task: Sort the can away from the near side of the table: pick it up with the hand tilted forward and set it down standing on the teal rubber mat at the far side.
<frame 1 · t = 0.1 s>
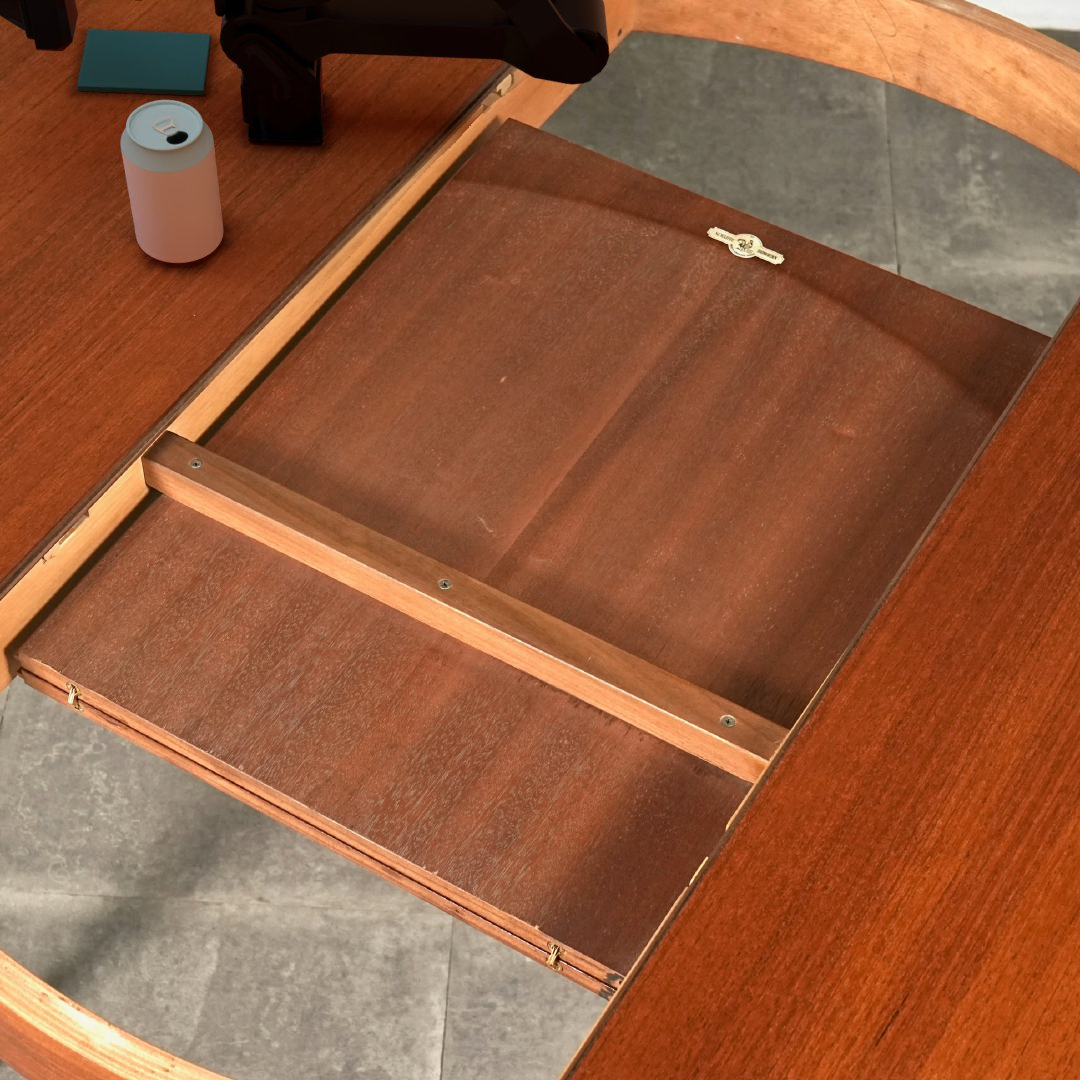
can: (180, 240, 131), on the table
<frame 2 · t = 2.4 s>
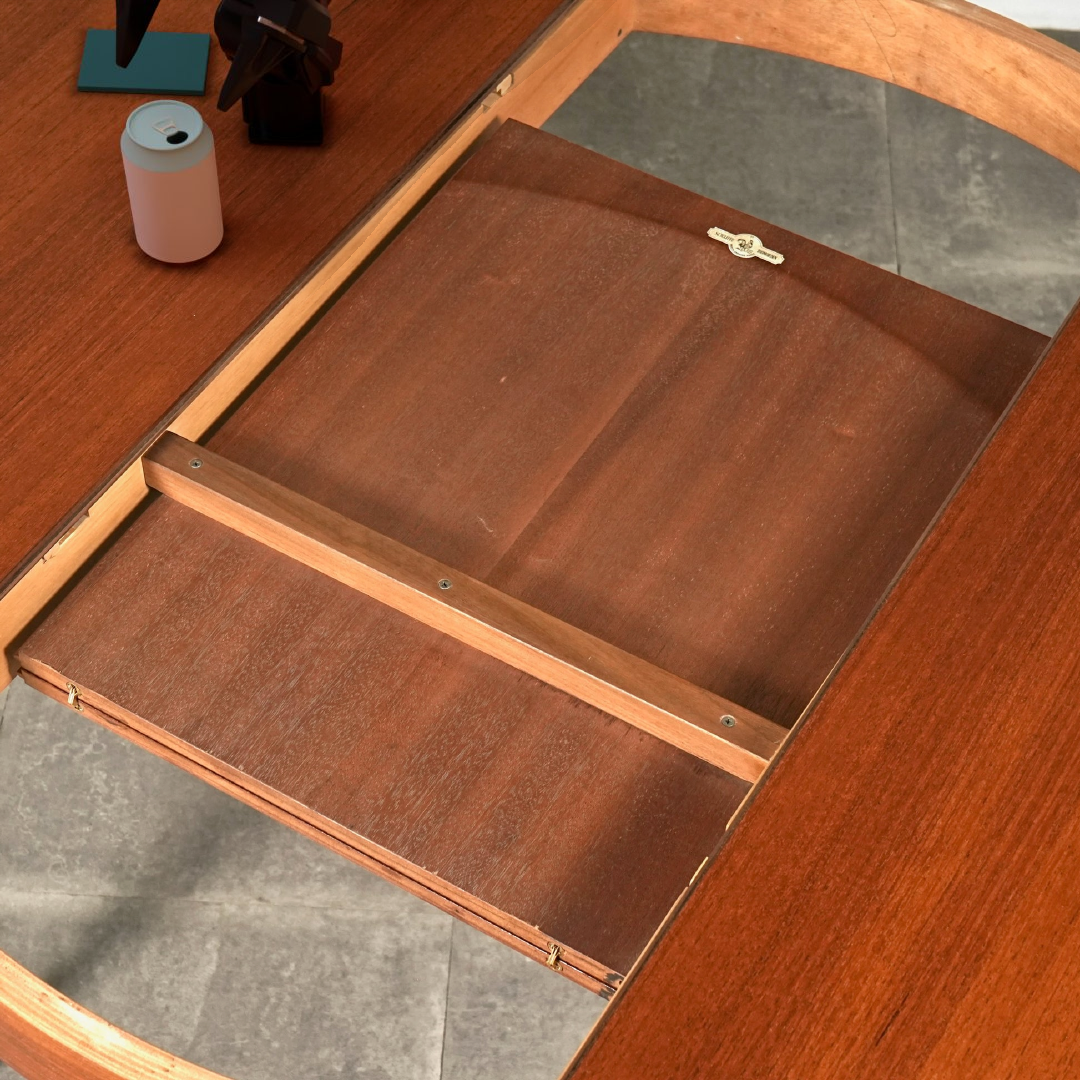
hand: (170, 88, 121), 14 cm above the table, tool tilted 45°, fingers open, 9 cm apart
nothing on the table moved.
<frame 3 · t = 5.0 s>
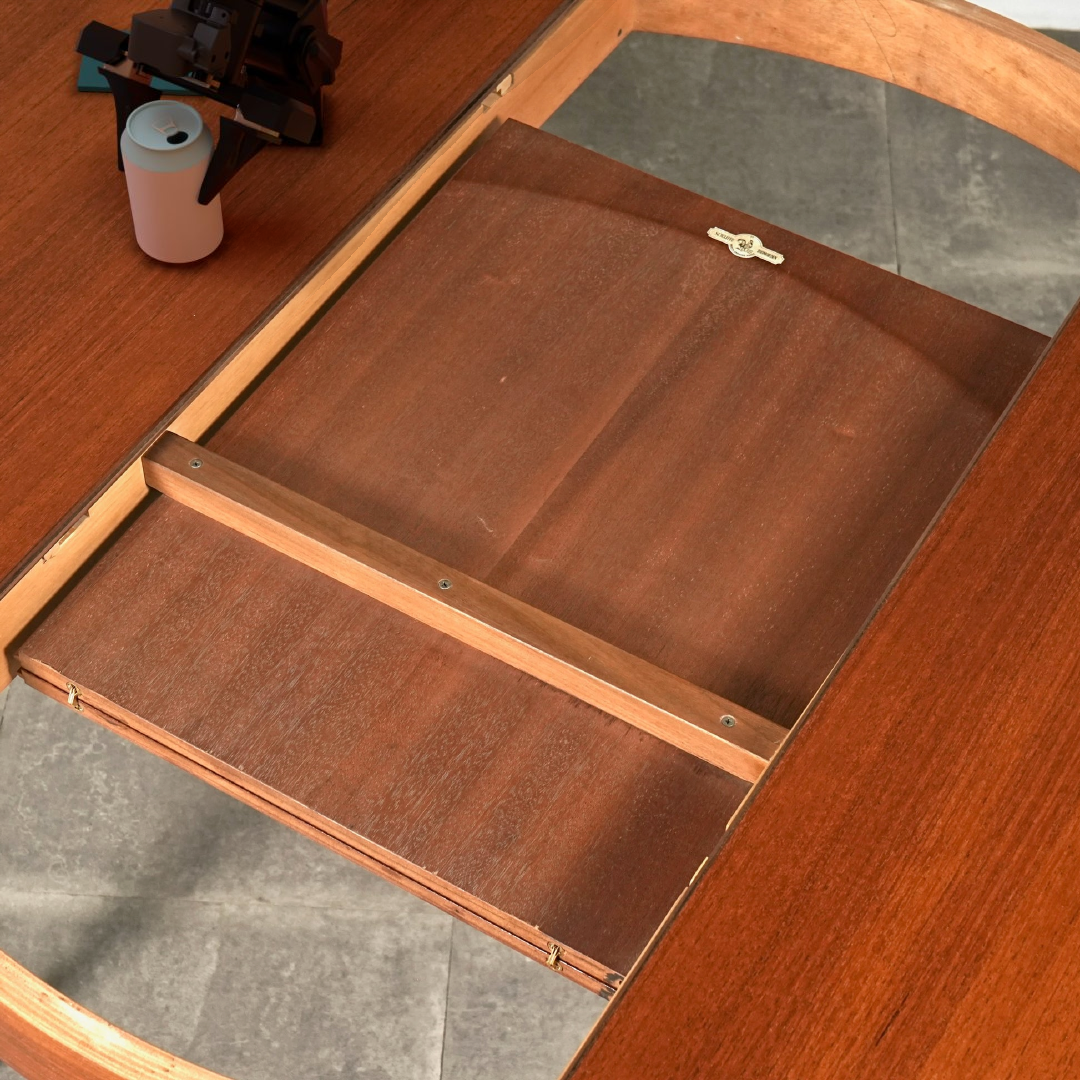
hand: (162, 187, 125), 7 cm above the table, tool tilted 45°, fingers closed on can, 7 cm apart
can: (181, 240, 131), on the table, touching gripper
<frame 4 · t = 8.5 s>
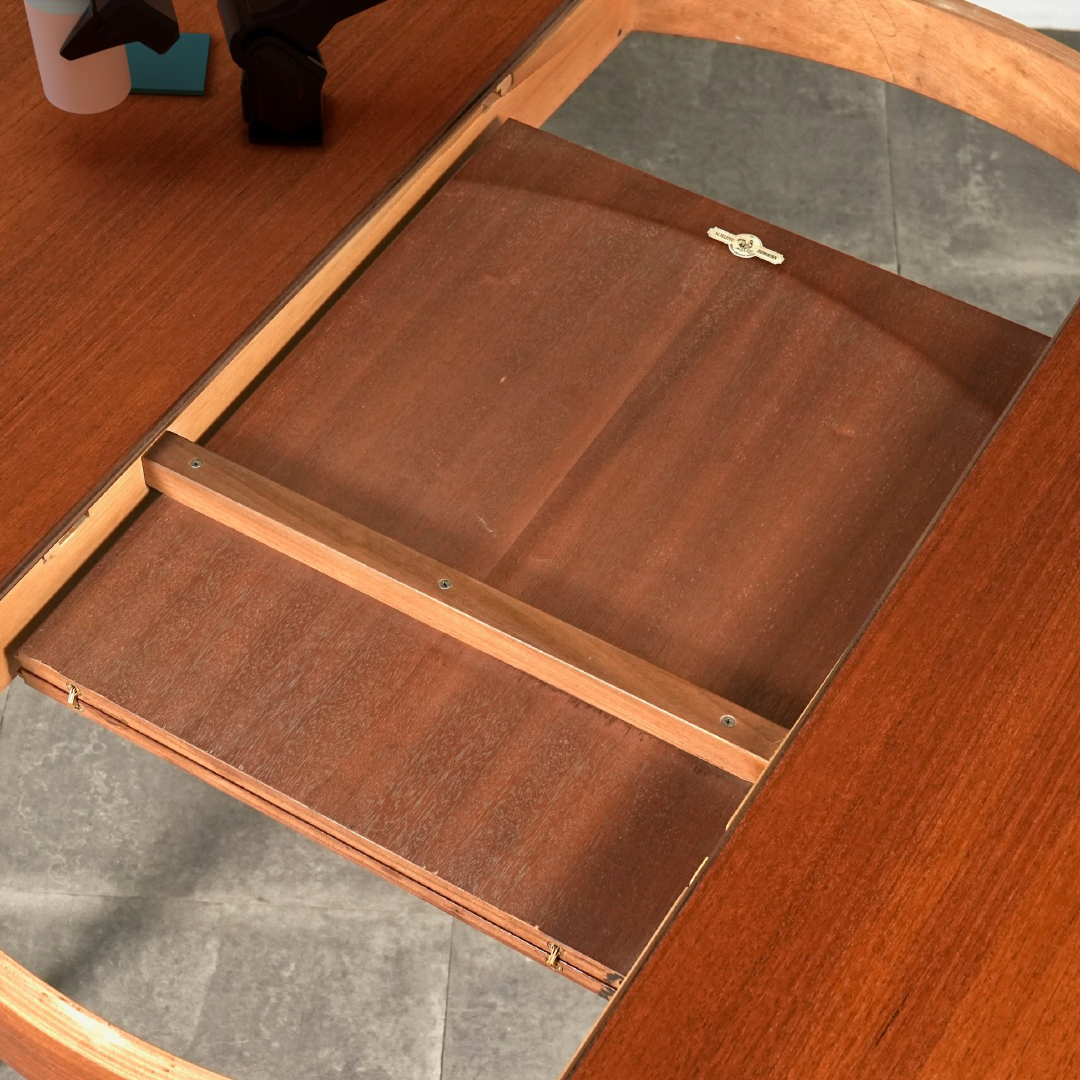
hand: (58, 27, 126), 12 cm above the table, tool tilted 45°, fingers closed on can, 7 cm apart
can: (89, 94, 132), point 6 cm above the table, touching gripper
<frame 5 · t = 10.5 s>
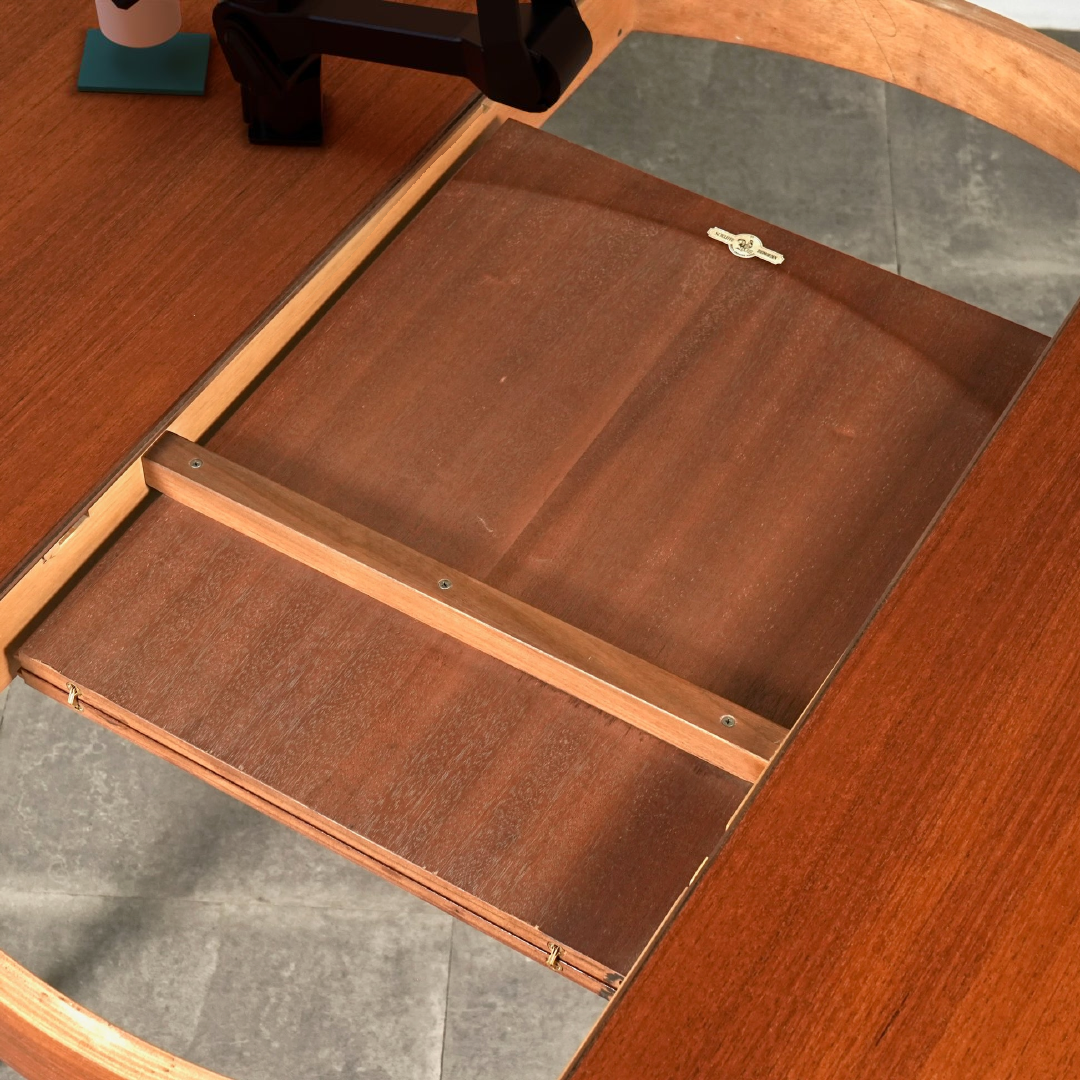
can: (142, 30, 140), point 4 cm above the table, touching gripper
when the fingers open (7 cm above the table, at t = 12.1 s): can stays where it is, resting on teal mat.
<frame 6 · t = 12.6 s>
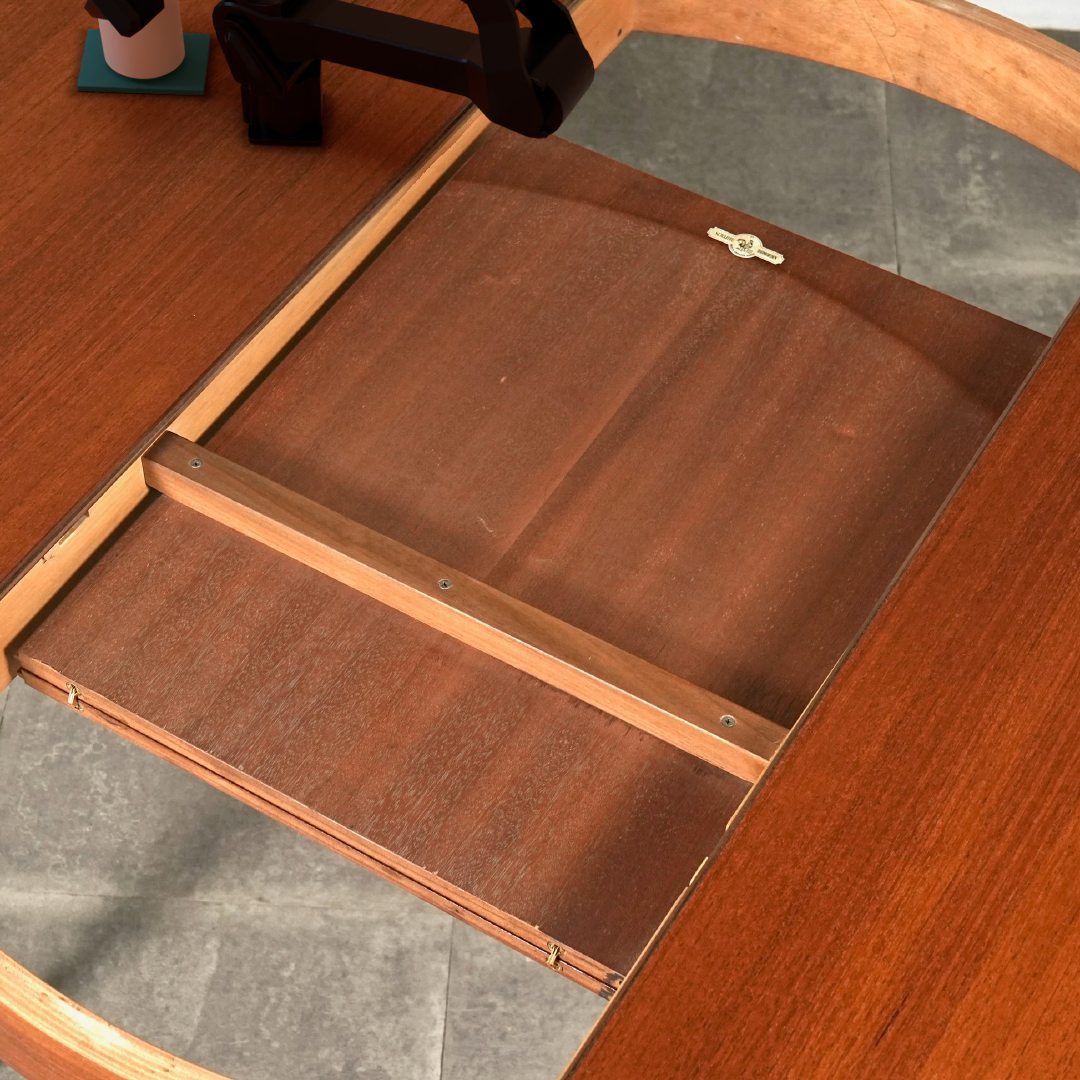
can: (145, 61, 143), resting on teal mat
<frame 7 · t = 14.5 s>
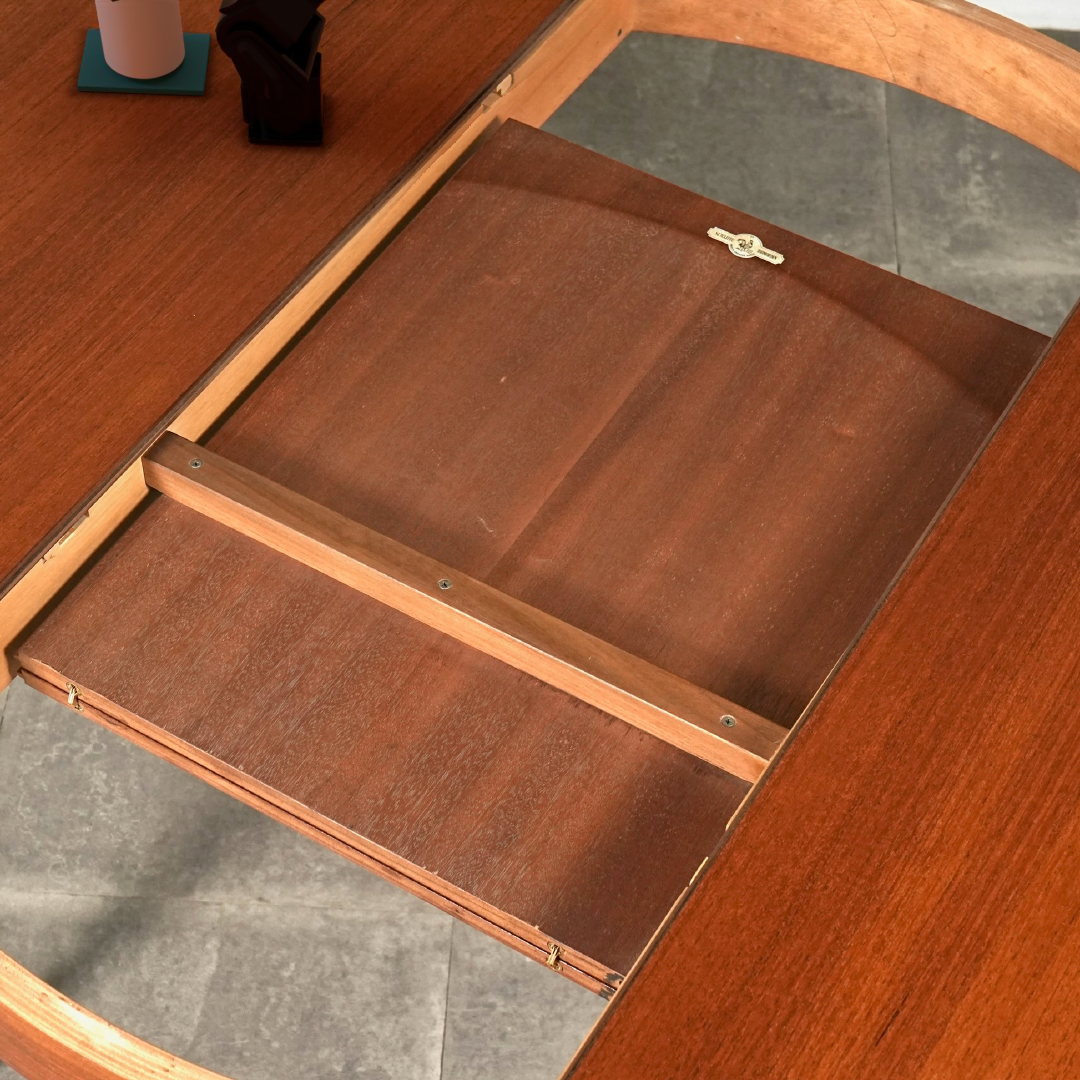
nothing on the table moved.
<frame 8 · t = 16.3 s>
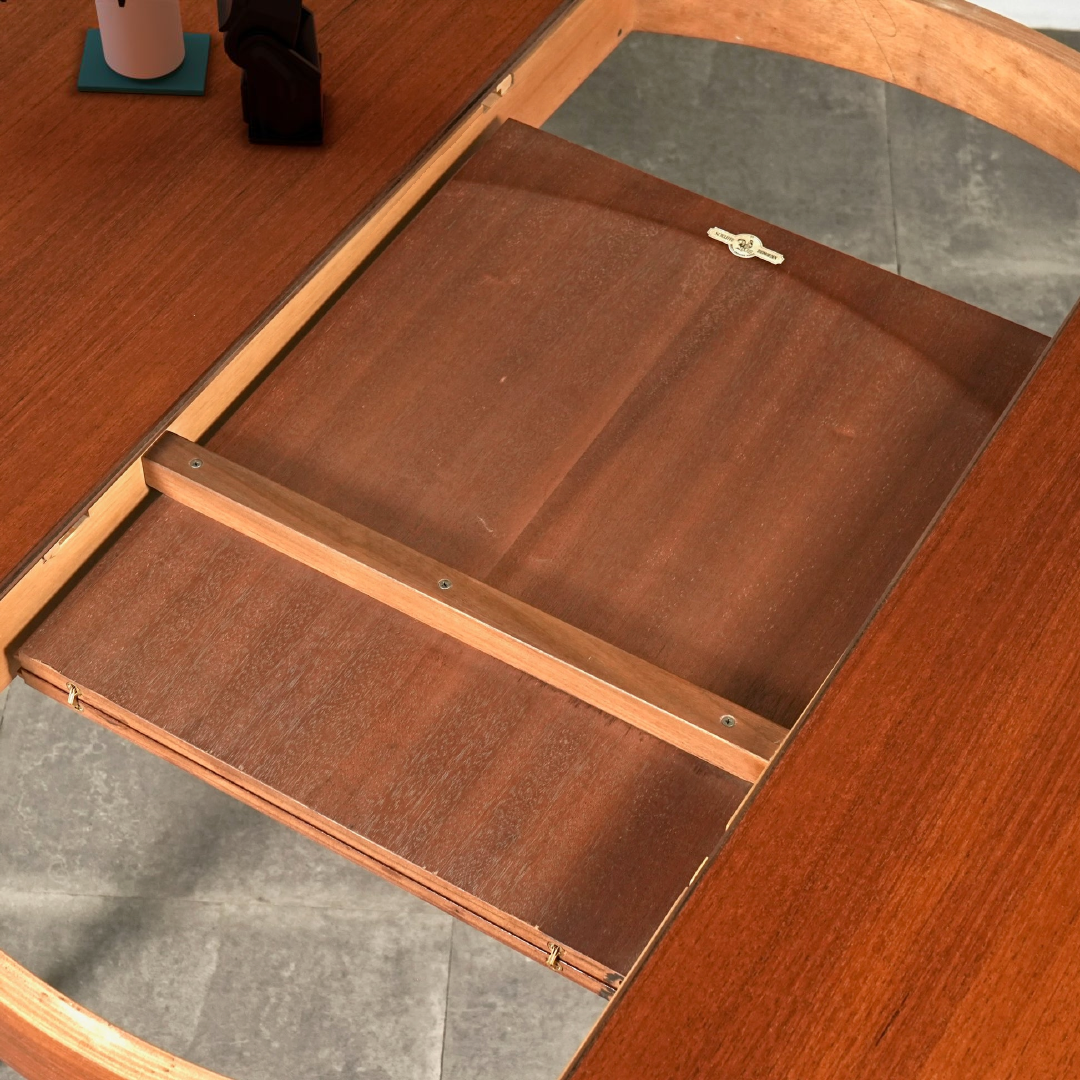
hand: (63, 1, 127), 13 cm above the table, tool pointing down, fingers open, 9 cm apart
nothing on the table moved.
at the end: can inside the target area on the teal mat (0.1 cm from its centre), point 0.4 cm above the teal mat's base; can tilted 0° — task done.
